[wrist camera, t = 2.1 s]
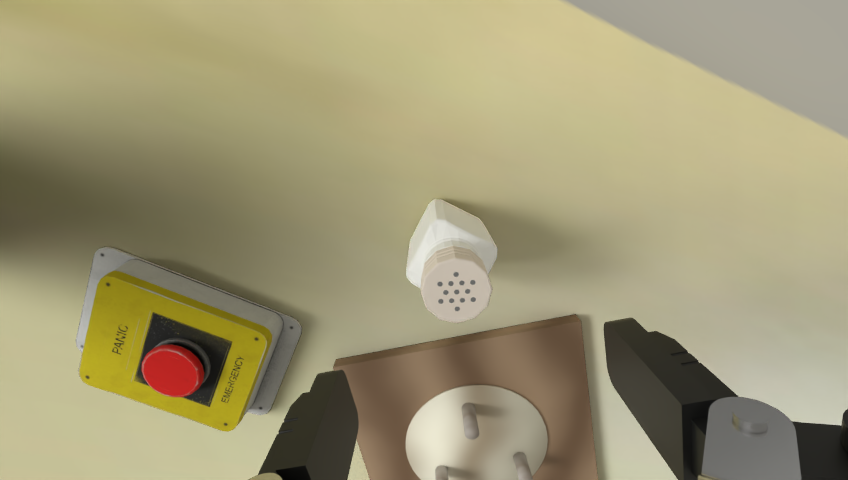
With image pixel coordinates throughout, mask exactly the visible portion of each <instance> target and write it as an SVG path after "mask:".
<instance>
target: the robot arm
mask: <svg viewBox="0 0 848 480" xmlns="http://www.w3.org/2000/svg"><path fill="white" fill-rule="evenodd" d="M604 338H605V349H606V360H607V369H608V373H609V376H610V379H611V382H612V384H613V386H614V388H615V389H616V391H617V392H618V394H619V395H620V397H621V398H622V400H623V401H624V402H625V404H626V405H627V407H628V408H629V410H630V411H631V413H632V414H633V415H634V417H635V418H636V420H637V421H638V423H639V424H640V425H641V427H642V428H643V430H644V431H645V433H646V434H647V436H648V437H649V438H650V440H651V441H652V443H653V444H654V446H655V447H656V449H657V450H658V451H659V453H660V454H661V456H662V457H663V459H664V460H665V462H666V463H667V464H668V466H669V467H670V469H671V470H672V472H673V473H674V474H675V476H676V477H677V479H678V480H848V409H847V410H846V411H845V412H844V414H843V419H842V426H840V425H826V424H813V423H801V422H793V421H791V420H790V419H789V418H788V417H787V416H786V415H785V414H783V413H782V412H781V411H779V410H778V409H776V408H774V407H772V406H770V405H768V404H766V403H763V402H760V401H757V400H753V399H749V398H743V397H738V396H737V395H736V394H735V393H734V392H733V391H732V390H730V389H729V388H728V387H727V386H726V385H725V384H724V383H723V382H722V381H720V380H719V379H718V378H717V377H716V376H715V375H714V374H713V373H711V372H710V371H709V370H708V369H707V368H706V367H705V366H704V365H702V364H701V363H699V362H698V360H697V359H696V358H695V357H694V356H692V355H691V354H690V353H688V352H687V350H686V349H685V348H683V347H682V346H681V345H680V344H679V343H678V342H677V341H676V340H675V339H672V338H670V337H668V336H666V335H664V334H661V333H659V332H657V331H654V332H647V331H646V330H645V329H644V328H643V327H642V326H641V325H640V324H639V323H638V322H637V321H636V320H635V319H633V318H626V319H620V320H615V321H609V322H605V324H604ZM358 428H359V420H358V412H357V408H356V405H355V402H354V399H353V396H352V393H351V389H350V386H349V383H348V380H347V377H346V374H345V372H344V371H343V370H336V371H330V372H325V373H319V374H318V375H317V376H316V378H315V381H314V383H313V385H312V387H311V390H310V392H307V393H303V394H302V395H301V396H300V397H299V398H298V399H297V400H296V401H295V402H294V403H293V404H292V405H291V407H290V409H289V411H288V413H287V415H286V417H285V419H284V423H282V426H281V428H280V430H279V434H277V436H276V438H275V440H274V442H273V444H272V446H271V448H270V451H269V453H268V455H267V457H266V459H265V461H264V463H263V465H262V467H261V469H260V471H259V474H258V475H257V476H254V477H252V478H250V479H249V480H347V478H348V474H349V470H350V465H351V461H352V456H353V452H354V447H355V443H356V438H357V434H358Z"/></svg>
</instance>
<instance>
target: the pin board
mask: <svg viewBox="0 0 848 480" xmlns="http://www.w3.org/2000/svg"><path fill="white" fill-rule="evenodd" d="M333 369H334V371H336V370H343V371H344V372H345V374H346V377H347V380H348V383H349V386H350V389H351V393H352V396H353V399H354V402H355V405H356V408H357V412H358V420H359V428H358V434H357V438H356V439H357V442H358V445H359V448H360V451H361V454H362V457H363V460H364V463H365V466H366V469H367V472H368V475H369V478H370V480H598V475H597V465H596V456H595V447H594V438H593V428H592V419H591V410H590V401H589V391H588V382H587V373H586V364H585V354H584V345H583V336H582V327H581V321H580V319H579V318H578V317H577V315H576V314H575V315H570V316H564V317H559V318H554V319H548V320H543V321H538V322H532V323H527V324H522V325H517V326H511V327H506V328H501V329H495V330H490V331H485V332H479V333H474V334H469V335H463V336H458V337H453V338H448V339H442V340H437V341H432V342H426V343H421V344H416V345H410V346H405V347H400V348H394V349H389V350H384V351H379V352H373V353H368V354H363V355H357V356H352V357H347V358H341V359H336V361H335V364H334V366H333Z"/></svg>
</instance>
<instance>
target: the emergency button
mask: <svg viewBox="0 0 848 480" xmlns="http://www.w3.org/2000/svg"><path fill="white" fill-rule="evenodd" d="M301 333H302V326H301V325H300V323H299V322H298V321H297V320H296V319H294V318H293V317H291V316H288V315H286V314H283V313H280V312H278V311H275V310H273V309H270V308H268V307H265V306H262V305H260V304H257V303H255V302H252V301H250V300H247V299H244V298H242V297H239V296H237V295H234V294H231V293H229V292H226V291H224V290H221V289H219V288H216V287H213V286H211V285H208V284H206V283H203V282H201V281H198V280H195V279H193V278H190V277H188V276H185V275H183V274H180V273H177V272H175V271H172V270H170V269H167V268H165V267H162V266H159V265H157V264H154V263H152V262H149V261H147V260H144V259H141V258H139V257H136V256H134V255H131V254H128V253H126V252H123V251H121V250H118V249H116V248H111V247H104V248H100V249H98V250H97V251H96V253H95V254H94V257H93V262H92V267H91V271H90V276H89V281H88V285H87V290H86V295H85V300H84V304H83V309H82V314H81V318H80V323H79V328H78V332H77V337H76V345H77V347H78V349H79V350H80V351H81V352H82V357H81V361H80V366H79V370H78V371H79V377H80V379H81V380H82V381H83V382H84V383H86V384H88V385H90V386H93V387H96V388H99V389H102V390H105V391H108V392H110V393H113V394H116V395H119V396H122V397H125V398H128V399H131V400H134V401H137V402H140V403H143V404H145V405H148V406H151V407H154V408H157V409H160V410H163V411H166V412H169V413H172V414H175V415H178V416H181V417H183V418H186V419H189V420H192V421H195V422H198V423H201V424H204V425H207V426H210V427H213V428H216V429H218V430H221V431H231V430H233V429H234V428H235V427H236V426H237V425H238V424H239V423H240V421H241V420H242V418H243V416H244V415H245V414H246V412H249V413H252V414H257V415H263V414H267V412H268V411H269V410H270V409H271V407H272V404H273V402H274V400H275V397H276V395H277V392H278V390H279V387H280V385H281V382H282V380H283V377H284V375H285V372H286V370H287V368H288V365H289V363H290V360H291V358H292V355H293V353H294V350H295V348H296V345H297V343H298V340H299V338H300V335H301Z"/></svg>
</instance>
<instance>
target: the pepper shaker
mask: <svg viewBox="0 0 848 480" xmlns="http://www.w3.org/2000/svg"><path fill="white" fill-rule="evenodd" d="M497 249H498V248H497V246H496V245H495V243H494V241H493V239H492V237H491V236H490V234H489V232H488V230H487V229H486V227H485V225H484V223H483V222H482V221H481V220H480V219H479V218H478V217H476V216H474V215H472V214H470V213H468V212H466V211H464V210H462V209H460V208H458V207H456V206H454V205H452V204H450V203H448V202H446V201H444V200H442V199H434V200H432V201H431V202H430V203H429V204H428V206H427V208H426V210H425V212H424V214H423V216H422V218H421V220H420V222H419V224H418V225H417V227H416V229H415V231H414V233H413V235H412V237H411V239H410V243H409V251H408V260H407V268H406V277H407V278H408V279H409V281H410V282H411V283H412V284H413V285H415V286H417V287H419V288H420V289H421V295H422V298H423V301H424V303H425V306H426V309H427V310H428V311H430V312H431V313H432V314H433V315H435V316H436V317H437V318H438V319H440V320H443V321H449V322H454V323H460V322H464V321H467V320H471V319H474V318H476V317H477V316H478V315H479V314H480V313H481V312H482V311H483V310H484V309H485V308H486V307H487V306H488V304H489V300H490V296H491V293H492V286H491V283H490V279H489V276H488V274H489V272H490V270H491V268H492V266H493V264H494V262H495V260H496V258H497Z"/></svg>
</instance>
